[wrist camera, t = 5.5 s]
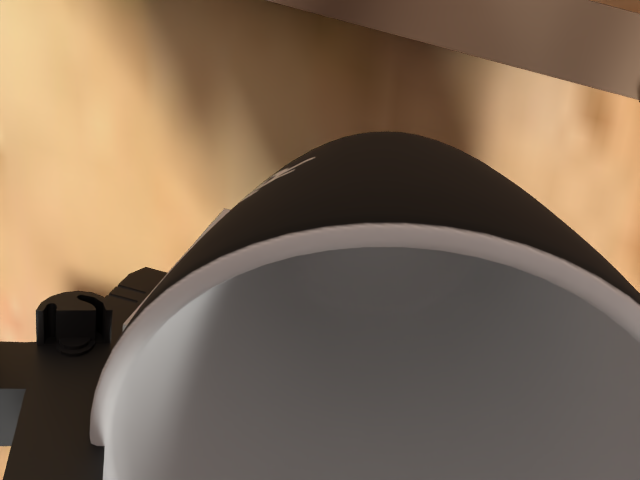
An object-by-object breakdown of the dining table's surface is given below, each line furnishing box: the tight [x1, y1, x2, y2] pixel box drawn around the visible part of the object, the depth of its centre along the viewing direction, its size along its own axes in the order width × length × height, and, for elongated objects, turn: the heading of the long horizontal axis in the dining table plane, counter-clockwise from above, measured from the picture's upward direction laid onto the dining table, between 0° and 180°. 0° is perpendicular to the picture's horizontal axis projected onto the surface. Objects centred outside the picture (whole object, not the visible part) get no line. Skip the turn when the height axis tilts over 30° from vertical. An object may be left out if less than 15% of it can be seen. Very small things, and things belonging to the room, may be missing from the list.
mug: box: [90, 132, 640, 480], centre depth 12 cm, size 12×9×10 cm
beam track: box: [266, 0, 640, 102], centre depth 17 cm, size 30×19×4 cm, turn 76°
